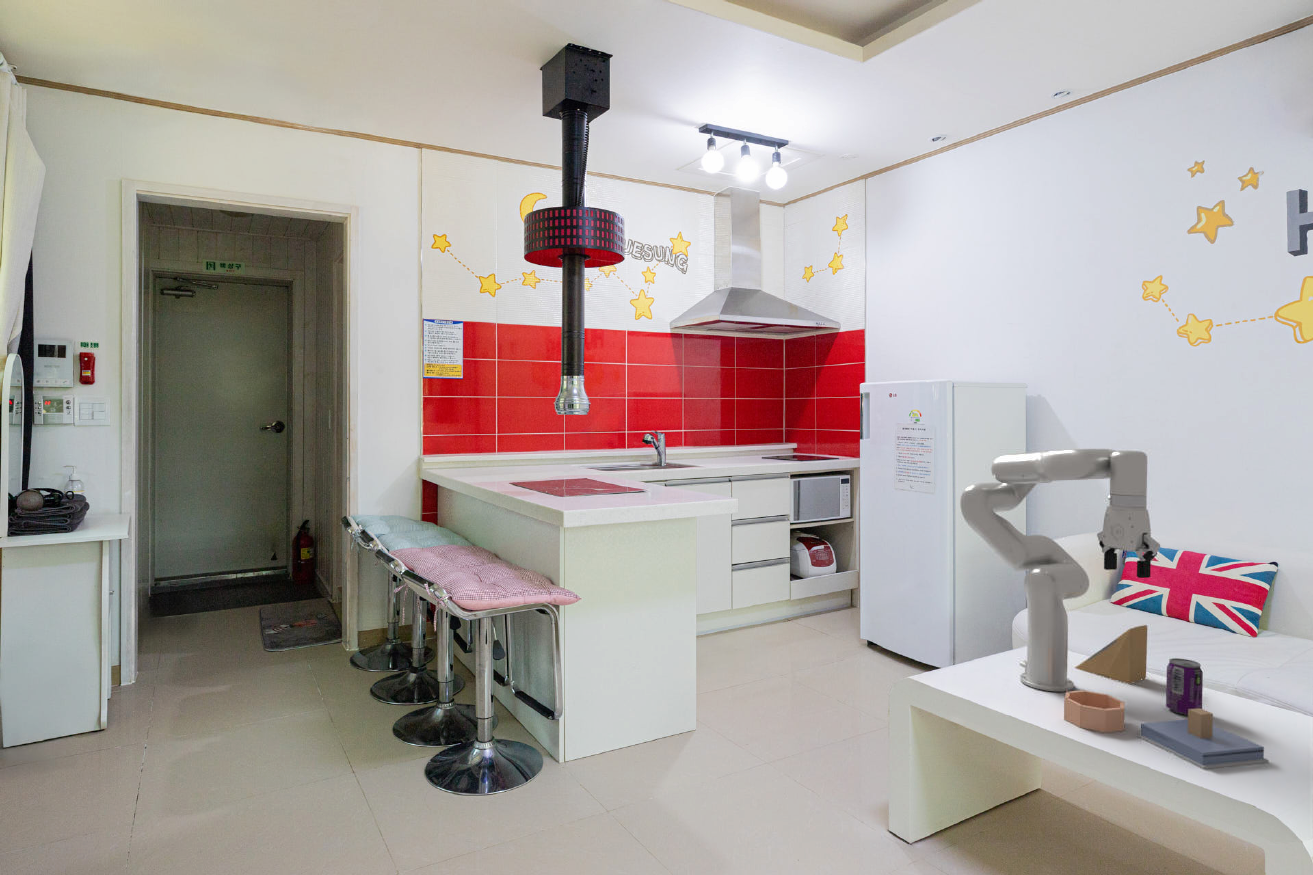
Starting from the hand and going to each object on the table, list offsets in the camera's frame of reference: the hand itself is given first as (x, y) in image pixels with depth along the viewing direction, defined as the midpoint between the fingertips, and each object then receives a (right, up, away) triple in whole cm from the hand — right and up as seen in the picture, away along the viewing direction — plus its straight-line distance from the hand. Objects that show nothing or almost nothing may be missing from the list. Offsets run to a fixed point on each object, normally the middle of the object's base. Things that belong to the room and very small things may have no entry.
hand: (1126, 573), depth 179 cm
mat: (+3, -34, -20) cm, 39 cm away
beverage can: (+14, -34, +1) cm, 36 cm away
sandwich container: (+13, -33, +28) cm, 45 cm away
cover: (+3, -33, -20) cm, 39 cm away
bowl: (-11, -33, -6) cm, 36 cm away
